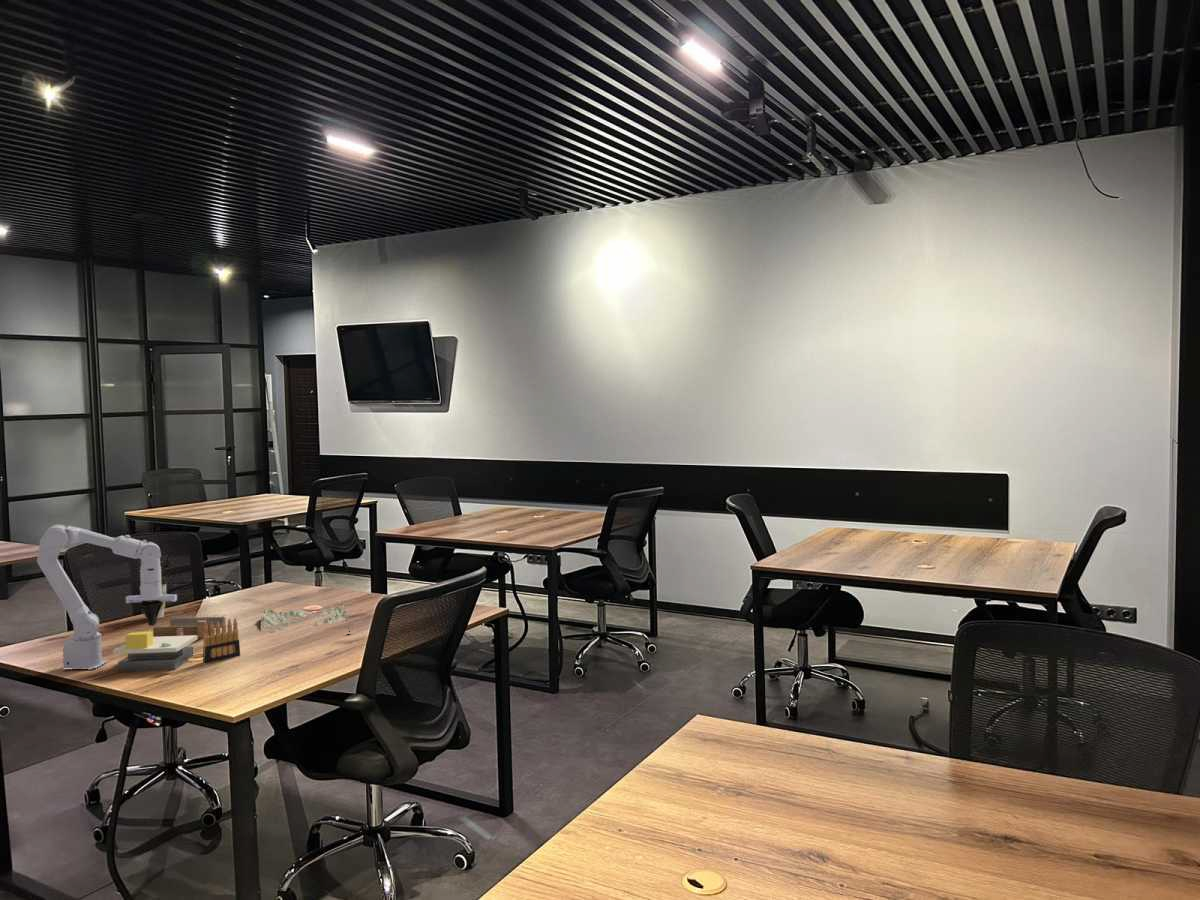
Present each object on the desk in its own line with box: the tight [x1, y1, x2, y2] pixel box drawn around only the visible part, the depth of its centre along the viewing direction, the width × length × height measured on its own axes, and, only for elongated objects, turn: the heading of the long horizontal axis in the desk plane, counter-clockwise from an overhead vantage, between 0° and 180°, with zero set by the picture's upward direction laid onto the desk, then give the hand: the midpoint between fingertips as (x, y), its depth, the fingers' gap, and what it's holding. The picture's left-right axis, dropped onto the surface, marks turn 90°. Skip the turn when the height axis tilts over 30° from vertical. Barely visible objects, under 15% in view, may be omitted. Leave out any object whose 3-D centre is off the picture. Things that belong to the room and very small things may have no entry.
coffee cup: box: [137, 576, 169, 620], centre depth 310 cm, size 10×10×15 cm
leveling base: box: [117, 646, 194, 672], centre depth 252 cm, size 16×14×5 cm
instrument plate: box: [112, 630, 198, 655], centre depth 252 cm, size 18×16×5 cm
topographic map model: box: [260, 602, 348, 633], centre depth 295 cm, size 36×29×5 cm
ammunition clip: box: [202, 617, 241, 664], centre depth 257 cm, size 11×2×12 cm, turn 136°
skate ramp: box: [152, 613, 227, 639], centre depth 283 cm, size 29×35×8 cm
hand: (152, 624), depth 258 cm, fingers closed
